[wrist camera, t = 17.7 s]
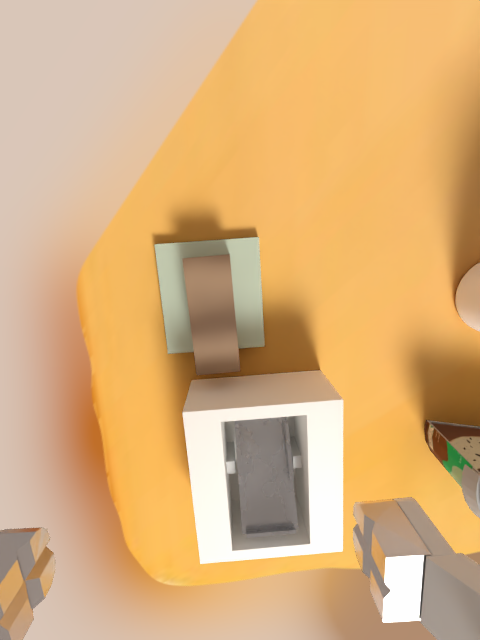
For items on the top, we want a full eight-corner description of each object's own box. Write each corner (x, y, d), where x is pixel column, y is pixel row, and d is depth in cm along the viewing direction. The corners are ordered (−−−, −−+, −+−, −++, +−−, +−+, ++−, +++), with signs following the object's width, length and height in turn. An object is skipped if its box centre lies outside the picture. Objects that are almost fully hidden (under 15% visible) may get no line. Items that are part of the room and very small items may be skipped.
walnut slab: (186, 257, 31) (182, 258, 28) (229, 254, 31) (229, 254, 28) (199, 365, 33) (196, 375, 30) (239, 361, 33) (240, 371, 30)
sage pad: (156, 244, 31) (154, 244, 30) (258, 237, 31) (258, 237, 30) (169, 351, 33) (168, 353, 33) (263, 344, 34) (264, 346, 33)
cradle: (233, 404, 34) (233, 404, 32) (283, 400, 34) (285, 399, 32) (242, 529, 31) (242, 538, 29) (296, 524, 31) (300, 533, 29)
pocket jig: (191, 380, 34) (182, 412, 27) (320, 369, 34) (343, 399, 28) (205, 506, 38) (200, 563, 31) (322, 497, 38) (342, 551, 31)
